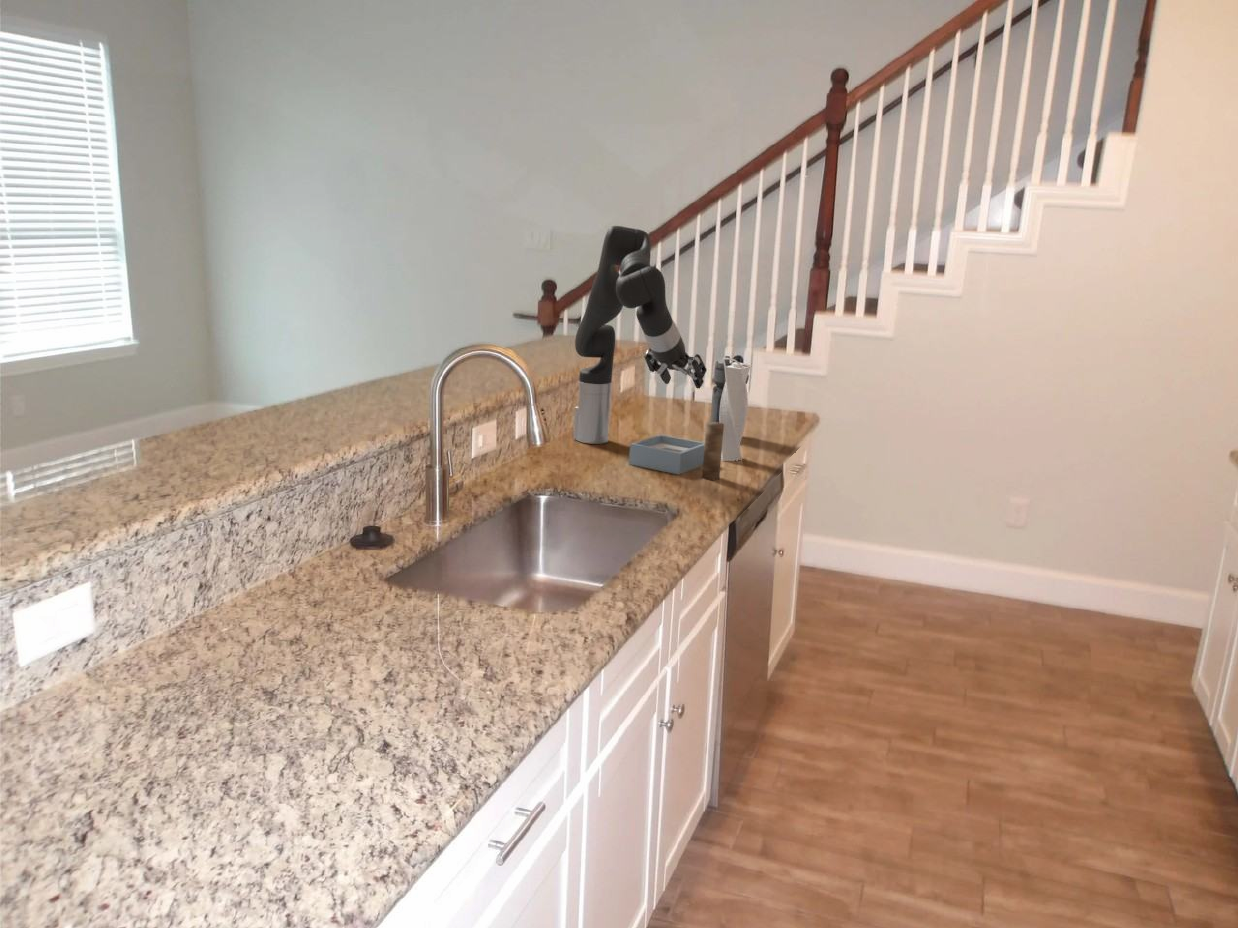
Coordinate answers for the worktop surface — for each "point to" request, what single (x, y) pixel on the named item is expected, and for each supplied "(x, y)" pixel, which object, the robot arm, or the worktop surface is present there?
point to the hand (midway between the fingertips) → (683, 383)
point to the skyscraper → (733, 409)
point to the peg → (712, 450)
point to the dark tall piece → (720, 386)
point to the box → (667, 454)
